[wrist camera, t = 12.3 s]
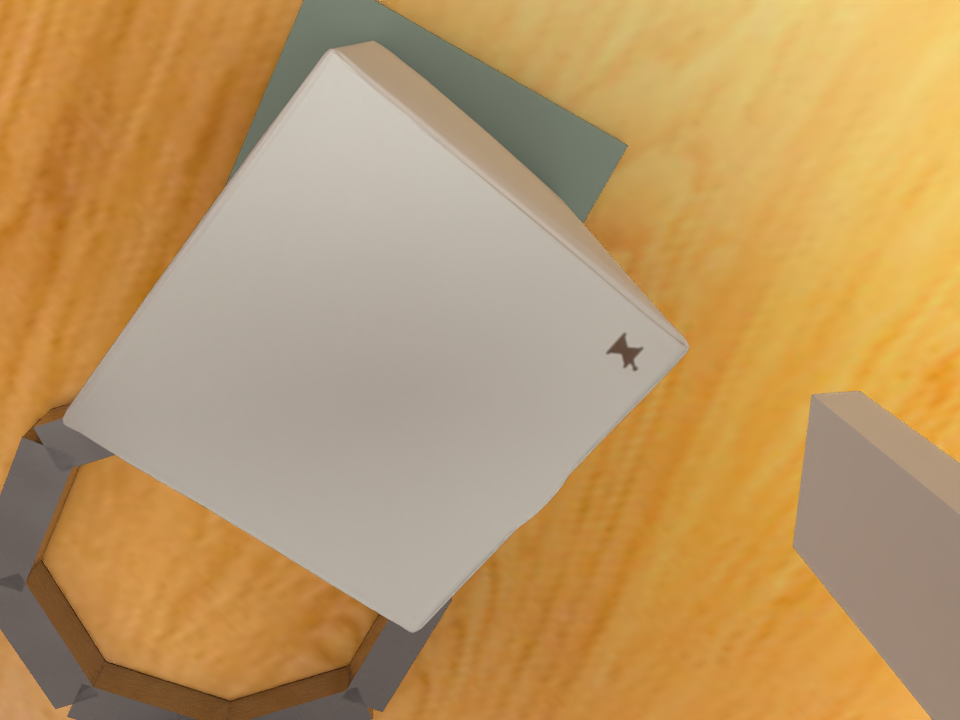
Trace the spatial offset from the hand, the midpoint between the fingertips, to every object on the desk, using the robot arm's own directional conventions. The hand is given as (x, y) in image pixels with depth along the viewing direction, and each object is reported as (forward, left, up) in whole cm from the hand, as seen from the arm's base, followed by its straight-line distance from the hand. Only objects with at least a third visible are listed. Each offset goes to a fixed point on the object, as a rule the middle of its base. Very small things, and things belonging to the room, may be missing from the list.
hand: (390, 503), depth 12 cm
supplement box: (0, 0, -19) cm, 19 cm away
